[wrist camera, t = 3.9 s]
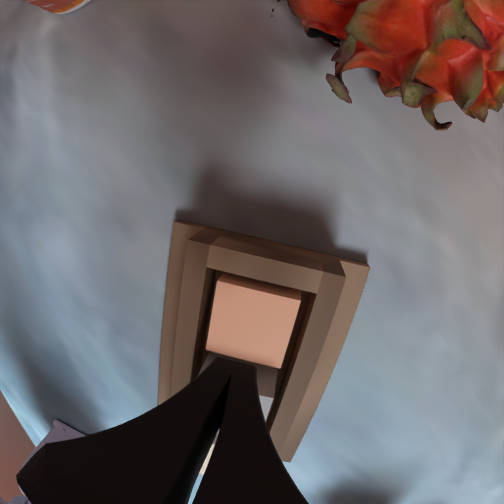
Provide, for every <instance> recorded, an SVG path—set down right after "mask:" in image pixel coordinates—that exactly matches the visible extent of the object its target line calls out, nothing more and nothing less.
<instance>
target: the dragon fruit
mask: <svg viewBox="0 0 504 504" xmlns="http://www.w3.org/2000/svg"><path fill="white" fill-rule="evenodd" d="M279 1H280V0H278V2H279ZM278 2H277V3H278ZM287 2H288V6H289V8H290V9H291V11H292V13H293V14H294V15H295V16H296V17H298V18H299V19H301V22H302V25H303V27H304V31H305V32H306V34H307V36H308V37H311V38H318V37H321V38H322V39H323V40H324V41H326V42H328V43H329V44H330V45H332V46H334V47H338V48H339V49H338V50H337V51H336V53H335V54H334V56H333V57H332V59H331V61H334V62H336V63H335V76H334V75H331V74H326V80H327V81H328V83H329V84H330V86H331V87H332V91H333V92H334V93H335V94H336V95H337V96H338V97H339V98H340V99H342V100H344V101H345V102H347V103H352V100H351V99H350V96H349V94H348V93H349V91H348V90H347V88H346V86H345V85H344V83H343V81H342V72H344V71H346V70H349V69H354V68H360V67H366V68H371V69H374V70H377V71H379V72H380V76H379V77H378V84H379V86H380V89H381V91H382V92H383V94H384V95H385V96H386V97H394V96H400V97H402V103H403V104H405V105H407V106H409V107H412V108H418V107H420V106H421V109H422V113H423V115H424V117H425V119H426V120H427V122H428V123H429V124H430V125H432V126H433V127H434V128H435V129H436V130H447V129H448V128H449V127H450V126H451V124H452V122H446V123H442V124H440V123H439V122H437V120H436V118H435V116H434V113H433V110H434V108H435V107H436V105H437V104H439V103H442V102H446V101H451V100H454V101H455V102H456V104H457V105H458V106H459V107H460V108H461V110H462V111H463V112H464V113H465V114H466V115H468V116H470V117H472V118H477V119H479V120H480V121H482V122H483V123H484V122H485V119H486V117H487V115H488V109H492V110H494V111H496V112H498V111H499V110H500V109H501V108H502V107H503V105H502V103H504V0H287ZM273 11H274V10H273V9H272V12H273ZM272 17H273V16H272ZM333 35H335V36H336V37H338V38H340V39H342V40H343V41H344V42H343V43H342V44H341V45H339V43H338V44H337V43H334V42H333V41H339V42H340V40H339V39H337V38H336V37H335V36H333Z"/></svg>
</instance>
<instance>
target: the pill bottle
mask: <svg viewBox="0 0 504 504" xmlns="http://www.w3.org/2000/svg"><path fill="white" fill-rule="evenodd" d="M24 1H27V2H29V3H31V4H33V5H36V6H38V7H40V8H42V9H44V10H47V11H49V12H52V13H55V14H66V13H69V12H72V11H75V10H77V9H79V8H81V7H82V6H84V5H85V4H87V3H88V2H90V1H91V0H24Z"/></svg>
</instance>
